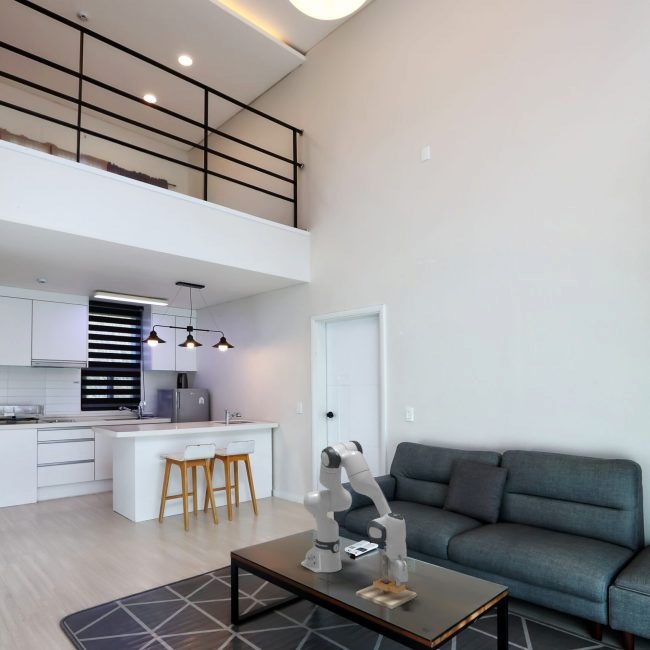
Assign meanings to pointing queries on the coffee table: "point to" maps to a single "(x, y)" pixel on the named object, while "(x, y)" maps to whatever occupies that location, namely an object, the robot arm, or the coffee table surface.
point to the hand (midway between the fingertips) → (397, 585)
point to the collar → (389, 586)
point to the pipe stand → (385, 592)
